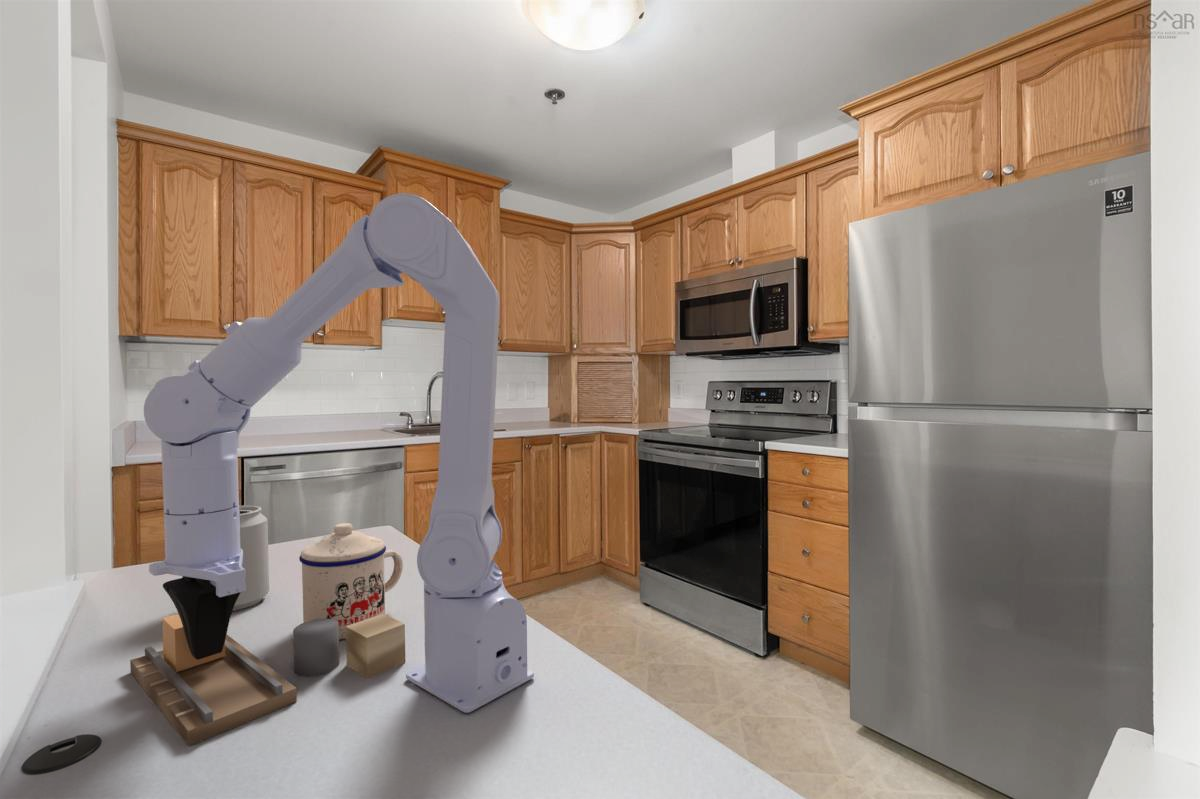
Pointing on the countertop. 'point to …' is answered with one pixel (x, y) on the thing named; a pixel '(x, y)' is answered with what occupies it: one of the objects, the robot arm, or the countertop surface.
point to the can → (253, 556)
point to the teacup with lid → (346, 577)
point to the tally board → (212, 691)
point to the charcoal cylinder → (316, 647)
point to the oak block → (375, 645)
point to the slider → (180, 646)
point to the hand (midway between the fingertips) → (207, 653)
